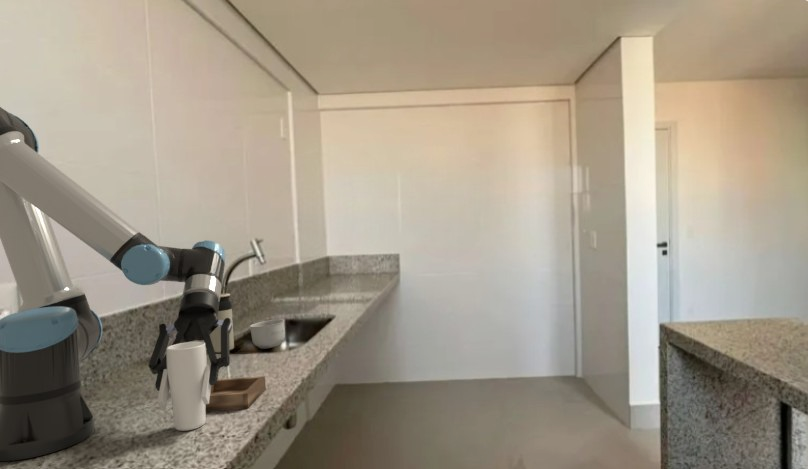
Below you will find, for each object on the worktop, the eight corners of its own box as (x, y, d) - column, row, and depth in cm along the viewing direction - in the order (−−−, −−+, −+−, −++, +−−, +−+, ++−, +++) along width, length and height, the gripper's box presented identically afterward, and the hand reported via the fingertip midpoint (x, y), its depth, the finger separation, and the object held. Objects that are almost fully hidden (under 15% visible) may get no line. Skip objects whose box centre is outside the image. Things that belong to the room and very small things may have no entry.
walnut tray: (188, 412, 95) (188, 397, 95) (213, 393, 107) (212, 379, 107) (248, 408, 95) (247, 393, 95) (265, 389, 107) (264, 376, 107)
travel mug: (234, 346, 158) (230, 292, 158) (234, 351, 150) (230, 294, 151) (208, 349, 155) (205, 295, 155) (207, 354, 148) (203, 297, 148)
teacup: (277, 350, 148) (275, 324, 148) (245, 351, 150) (243, 325, 150) (294, 340, 162) (293, 317, 162) (264, 341, 163) (263, 318, 163)
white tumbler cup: (195, 434, 83) (190, 349, 83) (161, 433, 85) (157, 349, 85) (217, 419, 90) (213, 340, 90) (186, 418, 91) (182, 341, 91)
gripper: (251, 307, 104) (243, 406, 88) (156, 316, 101) (130, 420, 85) (245, 285, 99) (237, 386, 83) (145, 293, 96) (116, 400, 79)
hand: (183, 403), depth 84 cm, fingers closed on white tumbler cup, 7 cm apart
